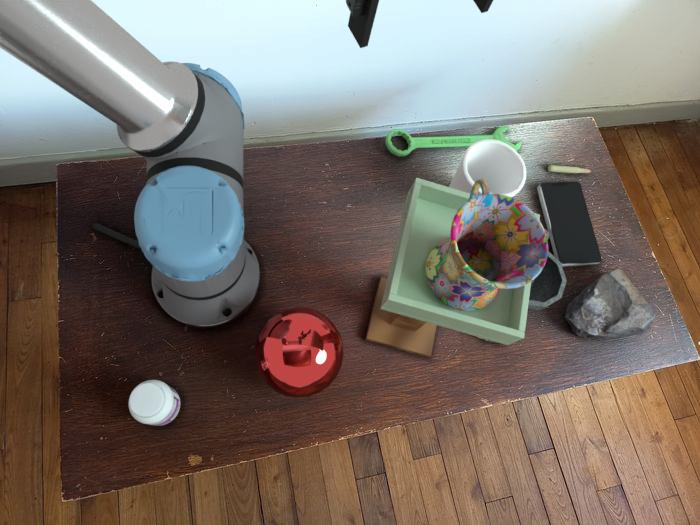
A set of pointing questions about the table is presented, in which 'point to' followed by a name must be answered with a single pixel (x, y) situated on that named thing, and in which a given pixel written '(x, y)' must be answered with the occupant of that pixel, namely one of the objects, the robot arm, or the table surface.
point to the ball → (298, 352)
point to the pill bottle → (154, 403)
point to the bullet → (567, 169)
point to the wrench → (443, 141)
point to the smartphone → (569, 223)
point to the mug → (486, 251)
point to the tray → (411, 282)
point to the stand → (399, 328)
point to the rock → (610, 309)
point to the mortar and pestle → (547, 284)
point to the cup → (490, 168)
